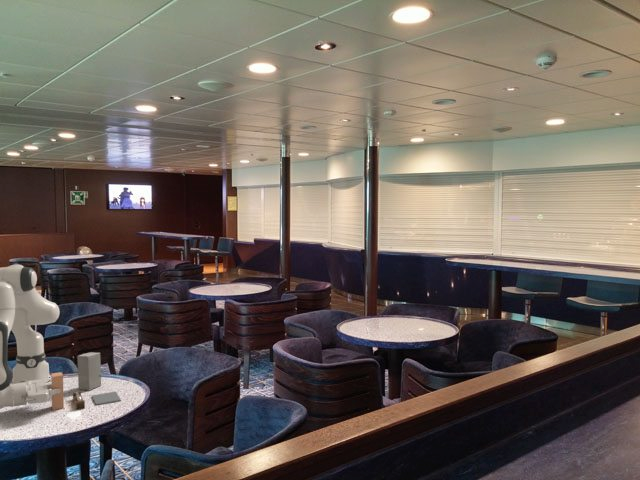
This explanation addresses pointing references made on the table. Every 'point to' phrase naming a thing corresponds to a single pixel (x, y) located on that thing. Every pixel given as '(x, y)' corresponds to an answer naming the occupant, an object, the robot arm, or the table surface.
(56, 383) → the orange rectangular block
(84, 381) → the skincare box
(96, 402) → the mat
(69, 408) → the table surface
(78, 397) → the bar
